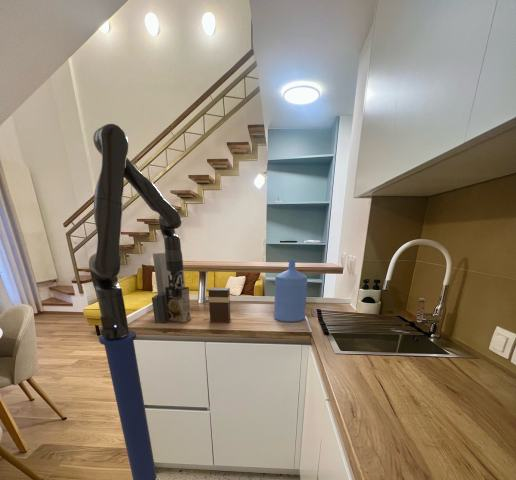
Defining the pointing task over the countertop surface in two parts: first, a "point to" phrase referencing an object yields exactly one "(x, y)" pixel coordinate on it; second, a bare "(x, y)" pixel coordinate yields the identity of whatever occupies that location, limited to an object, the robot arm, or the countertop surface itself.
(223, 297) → the box
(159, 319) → the grey books
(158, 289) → the tall grey box
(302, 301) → the water jug
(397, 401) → the countertop surface
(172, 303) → the coffee box
